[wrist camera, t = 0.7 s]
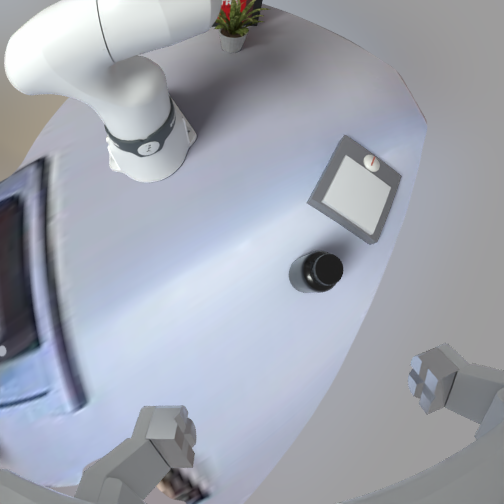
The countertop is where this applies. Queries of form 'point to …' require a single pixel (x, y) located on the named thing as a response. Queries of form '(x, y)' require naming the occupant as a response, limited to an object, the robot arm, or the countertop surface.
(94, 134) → the countertop surface
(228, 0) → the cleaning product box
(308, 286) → the supplement bottle
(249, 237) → the countertop surface
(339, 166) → the kitchen scale
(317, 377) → the countertop surface
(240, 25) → the house plant
